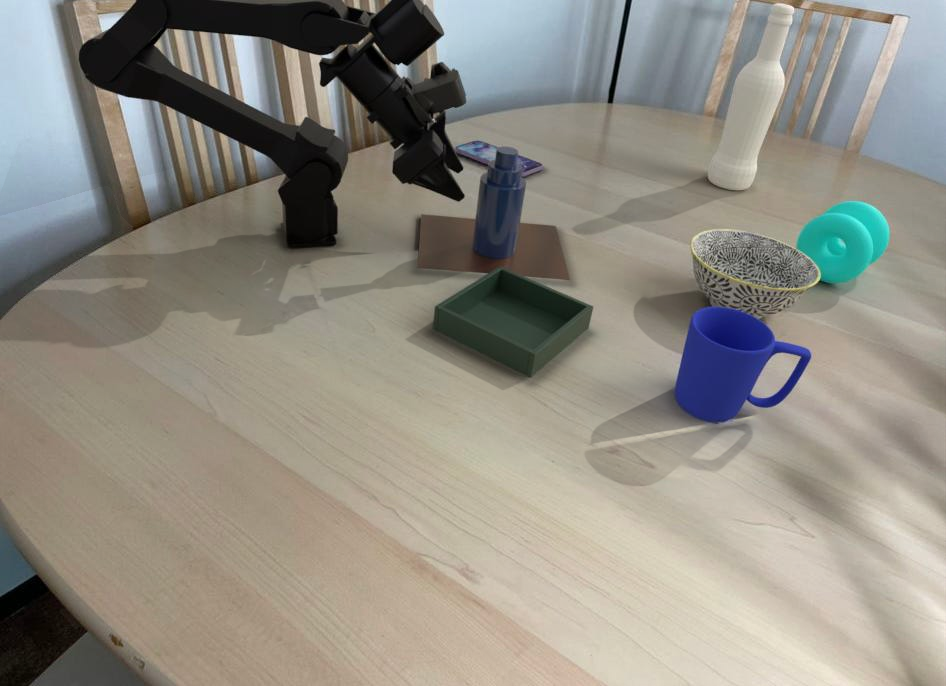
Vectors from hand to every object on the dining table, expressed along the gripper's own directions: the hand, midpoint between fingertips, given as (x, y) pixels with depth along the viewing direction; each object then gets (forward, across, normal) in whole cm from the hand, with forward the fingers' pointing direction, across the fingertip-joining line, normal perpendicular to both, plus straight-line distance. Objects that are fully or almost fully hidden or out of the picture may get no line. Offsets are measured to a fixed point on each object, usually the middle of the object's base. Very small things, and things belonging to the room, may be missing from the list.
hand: (461, 184), depth 97 cm
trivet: (+10, +1, +3) cm, 11 cm away
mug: (+27, -32, -13) cm, 43 cm away
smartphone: (+12, +34, +1) cm, 37 cm away
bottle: (+42, +34, -29) cm, 61 cm away
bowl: (+33, -10, -20) cm, 39 cm away
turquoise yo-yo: (+46, +2, -32) cm, 56 cm away
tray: (+11, -20, +2) cm, 23 cm away
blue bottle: (+10, 0, +2) cm, 10 cm away
